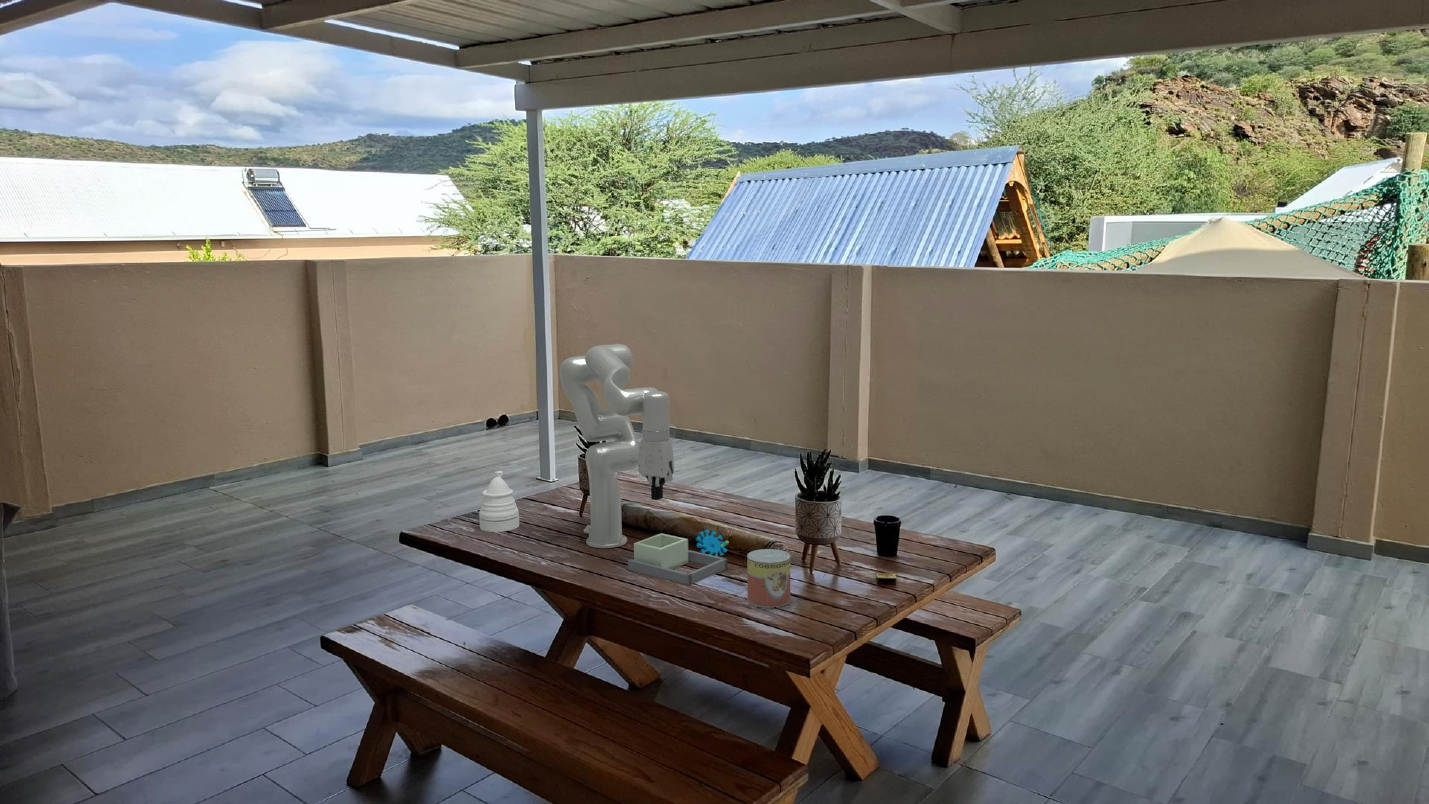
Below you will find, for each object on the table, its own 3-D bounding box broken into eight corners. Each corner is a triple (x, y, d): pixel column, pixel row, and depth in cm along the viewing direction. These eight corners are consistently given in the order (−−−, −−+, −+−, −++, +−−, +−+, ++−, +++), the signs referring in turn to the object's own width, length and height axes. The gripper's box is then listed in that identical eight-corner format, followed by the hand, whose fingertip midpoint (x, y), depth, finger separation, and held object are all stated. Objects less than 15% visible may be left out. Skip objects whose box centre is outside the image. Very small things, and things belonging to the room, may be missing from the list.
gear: (703, 558, 284) (693, 528, 289) (694, 568, 288) (685, 539, 293) (735, 557, 290) (725, 527, 295) (726, 567, 294) (716, 538, 299)
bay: (628, 573, 276) (627, 560, 276) (667, 557, 290) (667, 545, 289) (689, 589, 263) (688, 575, 263) (727, 571, 277) (727, 558, 276)
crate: (634, 567, 278) (633, 543, 277) (661, 556, 288) (661, 533, 287) (661, 573, 272) (660, 549, 271) (688, 562, 282) (688, 539, 281)
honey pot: (488, 520, 332) (485, 468, 329) (524, 521, 330) (522, 469, 327) (473, 531, 319) (471, 477, 317) (511, 532, 318) (509, 478, 315)
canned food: (759, 610, 247) (758, 564, 245) (740, 596, 257) (739, 552, 256) (798, 603, 252) (798, 558, 250) (778, 590, 262) (778, 546, 260)
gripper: (627, 434, 276) (628, 497, 279) (668, 441, 267) (668, 506, 270) (645, 430, 282) (645, 492, 285) (685, 436, 273) (685, 500, 276)
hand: (657, 498), depth 278 cm, fingers closed
